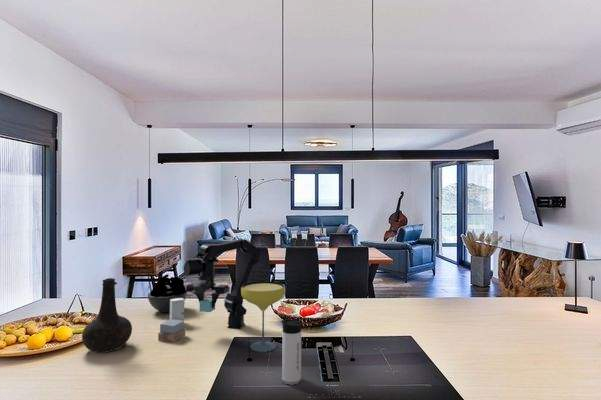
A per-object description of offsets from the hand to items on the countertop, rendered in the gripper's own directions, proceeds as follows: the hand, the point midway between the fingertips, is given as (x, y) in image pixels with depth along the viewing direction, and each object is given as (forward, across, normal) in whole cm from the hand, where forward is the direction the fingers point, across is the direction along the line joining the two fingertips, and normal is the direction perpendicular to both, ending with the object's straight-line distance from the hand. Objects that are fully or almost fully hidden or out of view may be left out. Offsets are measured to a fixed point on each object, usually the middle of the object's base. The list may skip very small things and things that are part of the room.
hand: (207, 307), depth 164 cm
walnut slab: (+12, -12, -8) cm, 19 cm away
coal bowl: (+12, -38, +25) cm, 47 cm away
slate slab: (+9, -13, -8) cm, 17 cm away
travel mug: (+12, +48, -31) cm, 59 cm away
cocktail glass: (+12, +29, -7) cm, 32 cm away
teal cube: (+1, 0, 0) cm, 1 cm away
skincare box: (+12, -21, +8) cm, 25 cm away
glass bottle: (+12, -31, -25) cm, 41 cm away
